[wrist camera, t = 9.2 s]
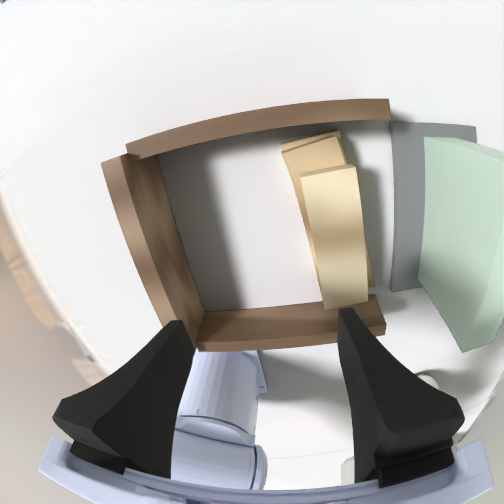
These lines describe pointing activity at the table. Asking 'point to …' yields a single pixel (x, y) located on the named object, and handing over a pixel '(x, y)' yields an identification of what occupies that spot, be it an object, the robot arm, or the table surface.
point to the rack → (172, 253)
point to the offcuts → (331, 216)
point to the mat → (413, 194)
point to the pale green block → (464, 238)
